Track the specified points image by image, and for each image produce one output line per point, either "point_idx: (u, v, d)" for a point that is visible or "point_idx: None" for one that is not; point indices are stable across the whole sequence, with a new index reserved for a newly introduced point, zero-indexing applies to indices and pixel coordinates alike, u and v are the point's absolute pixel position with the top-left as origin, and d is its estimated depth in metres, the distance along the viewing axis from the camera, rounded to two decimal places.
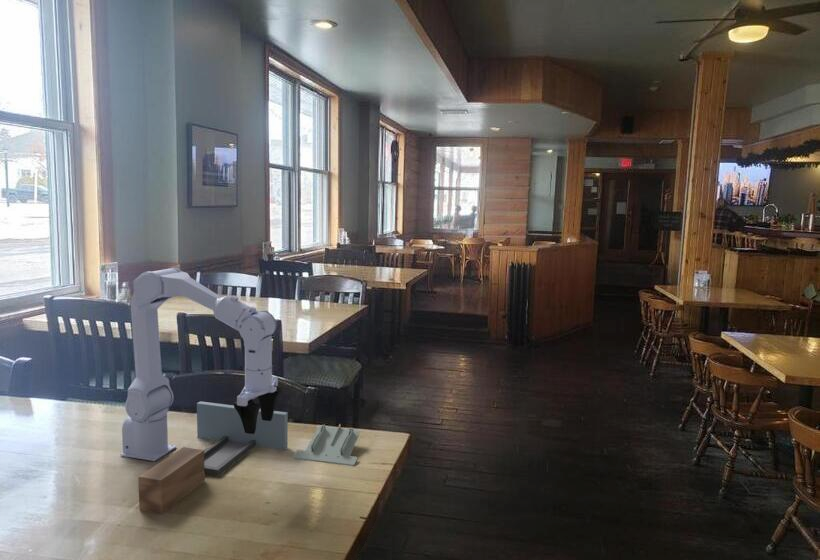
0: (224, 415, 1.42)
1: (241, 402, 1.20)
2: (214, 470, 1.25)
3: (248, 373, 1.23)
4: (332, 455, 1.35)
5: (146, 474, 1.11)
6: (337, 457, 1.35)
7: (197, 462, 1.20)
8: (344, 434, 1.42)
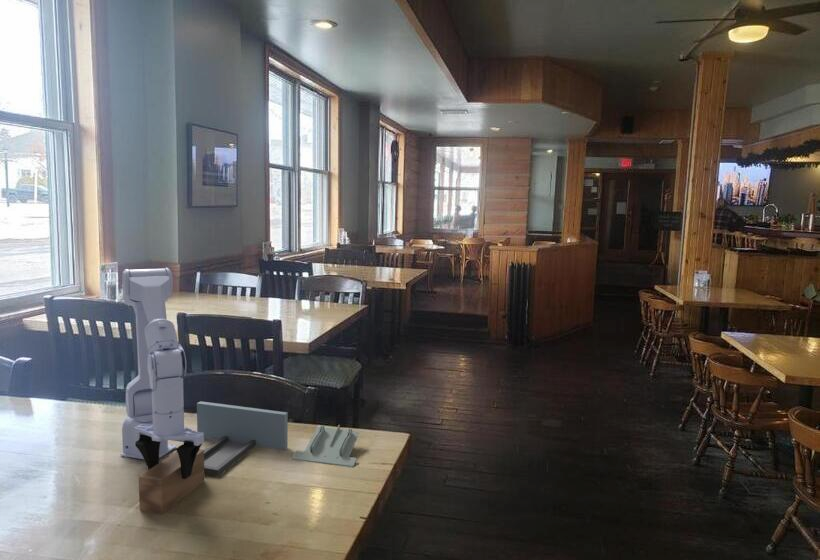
0: (224, 415, 1.42)
1: None
2: (214, 470, 1.25)
3: None
4: (331, 456, 1.35)
5: (147, 474, 1.11)
6: (336, 458, 1.34)
7: (197, 462, 1.20)
8: (343, 435, 1.42)
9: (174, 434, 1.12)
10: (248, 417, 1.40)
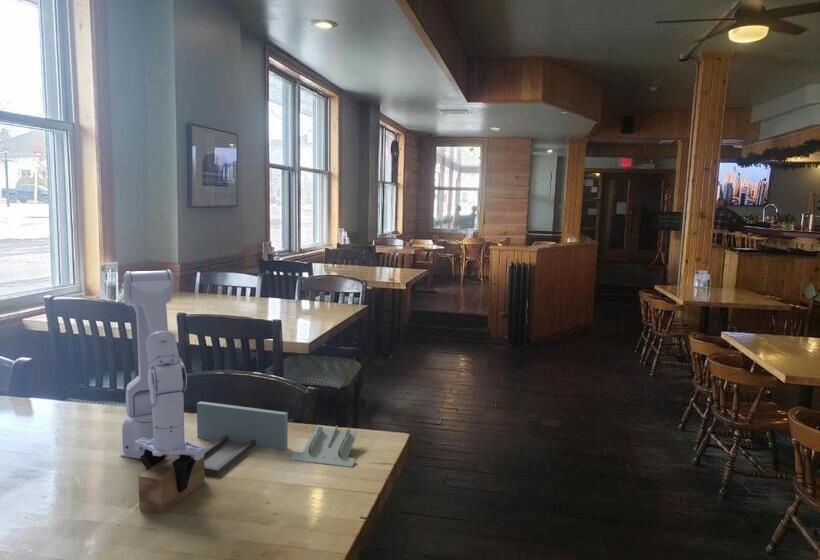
0: (224, 415, 1.42)
1: None
2: (214, 470, 1.25)
3: None
4: (330, 457, 1.34)
5: (146, 473, 1.11)
6: (334, 459, 1.34)
7: (197, 461, 1.20)
8: (341, 435, 1.41)
9: (174, 449, 1.13)
10: (248, 417, 1.40)
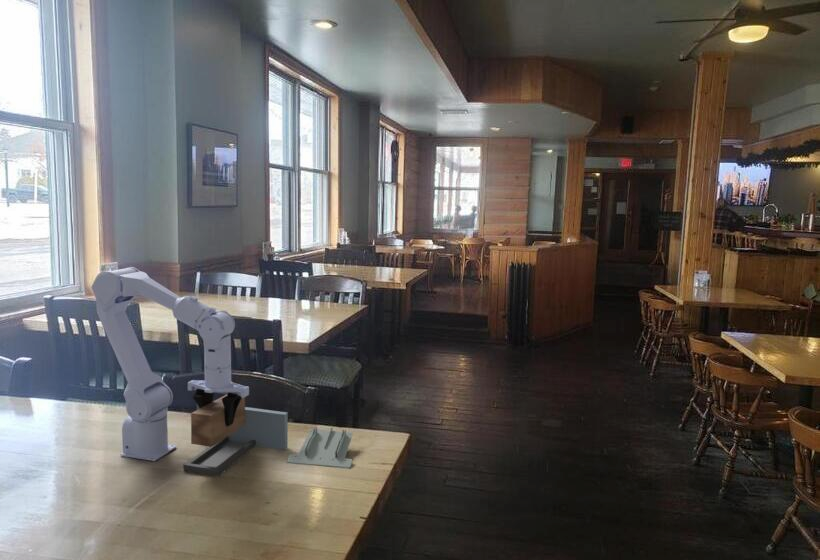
0: None
1: None
2: (214, 470, 1.25)
3: None
4: (326, 458, 1.34)
5: (198, 411, 1.27)
6: (332, 460, 1.33)
7: (239, 406, 1.36)
8: (337, 436, 1.41)
9: (223, 387, 1.28)
10: (248, 417, 1.40)
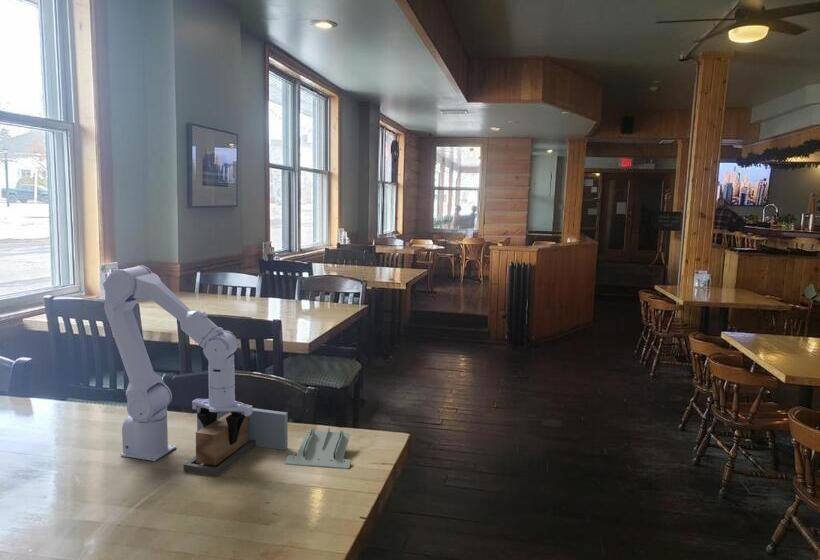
0: None
1: None
2: (214, 470, 1.25)
3: None
4: (325, 459, 1.33)
5: (202, 430, 1.29)
6: (330, 461, 1.33)
7: (243, 424, 1.38)
8: (334, 437, 1.40)
9: (227, 406, 1.31)
10: (248, 417, 1.40)
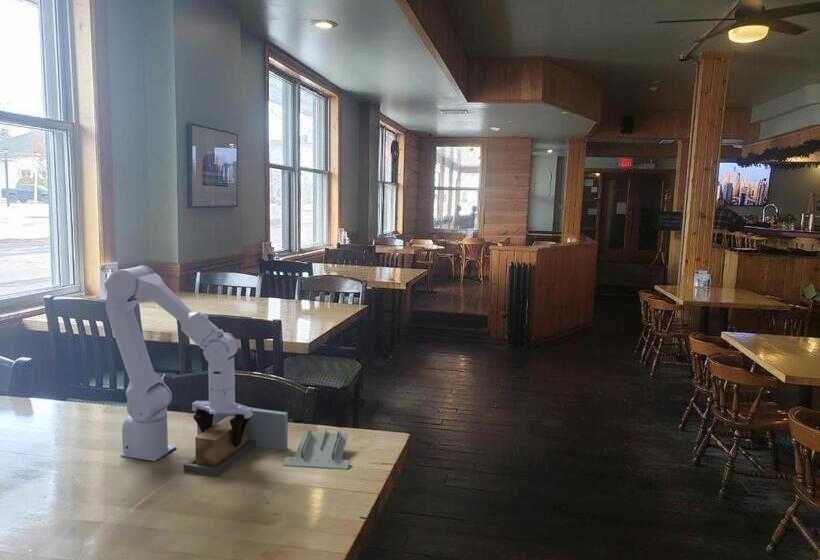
0: (224, 415, 1.42)
1: None
2: (214, 470, 1.25)
3: None
4: (323, 460, 1.33)
5: (202, 435, 1.29)
6: (328, 461, 1.32)
7: None
8: (332, 438, 1.40)
9: (227, 408, 1.31)
10: None
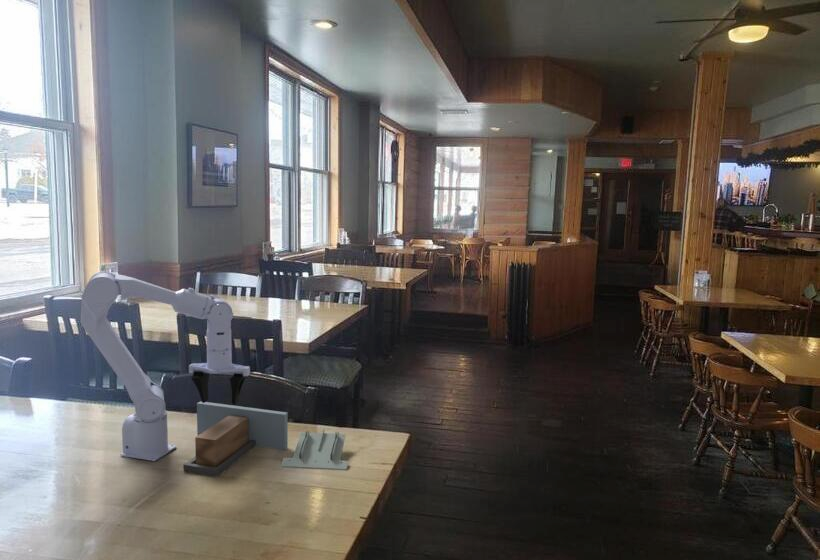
0: (224, 415, 1.42)
1: None
2: (214, 470, 1.25)
3: None
4: (322, 461, 1.32)
5: (202, 435, 1.29)
6: (327, 462, 1.32)
7: (242, 427, 1.38)
8: (329, 438, 1.39)
9: (226, 368, 1.38)
10: (248, 417, 1.40)
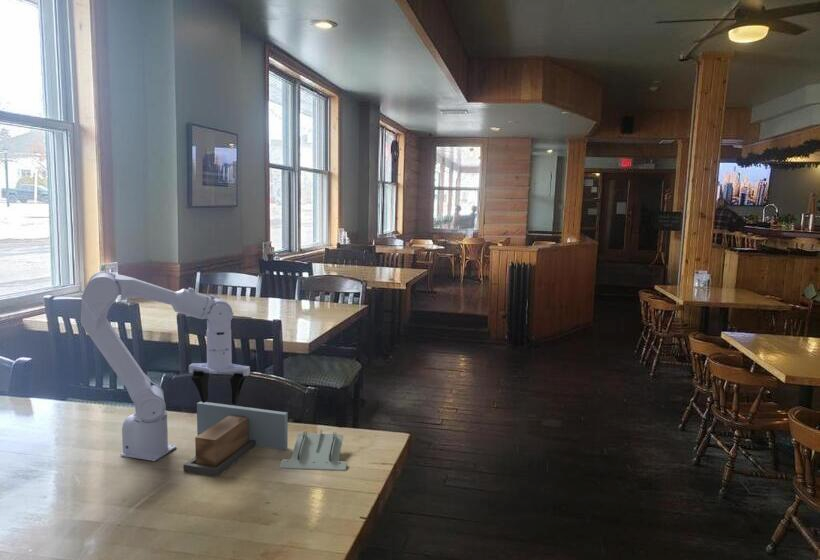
0: (224, 415, 1.42)
1: None
2: (214, 470, 1.25)
3: None
4: (320, 462, 1.32)
5: (202, 435, 1.29)
6: (326, 463, 1.31)
7: (242, 427, 1.38)
8: (327, 439, 1.39)
9: (226, 367, 1.38)
10: (248, 417, 1.40)
